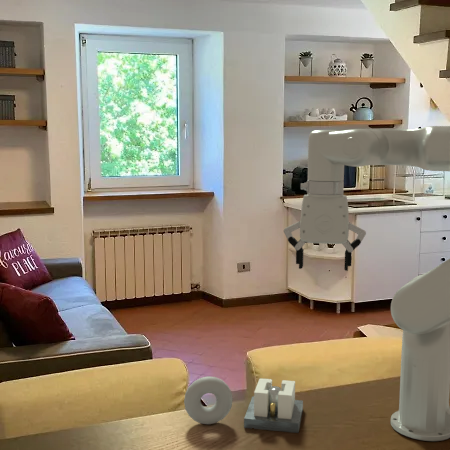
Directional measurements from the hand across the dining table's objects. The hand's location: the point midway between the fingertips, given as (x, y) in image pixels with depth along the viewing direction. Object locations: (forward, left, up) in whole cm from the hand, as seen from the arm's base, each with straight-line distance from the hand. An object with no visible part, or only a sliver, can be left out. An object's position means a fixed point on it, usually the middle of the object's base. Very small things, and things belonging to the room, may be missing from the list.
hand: (323, 268), depth 135 cm
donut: (+22, +15, -31) cm, 40 cm away
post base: (+9, +10, -30) cm, 33 cm away
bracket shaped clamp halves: (+9, +10, -28) cm, 31 cm away
